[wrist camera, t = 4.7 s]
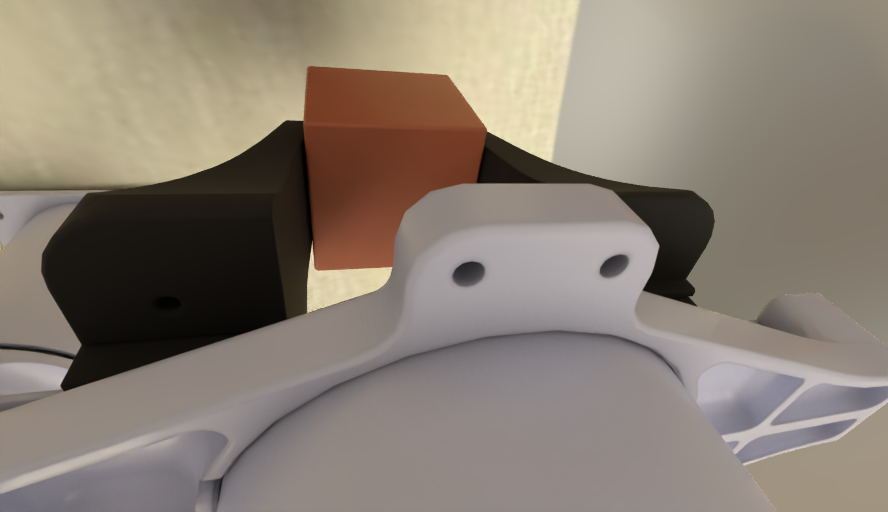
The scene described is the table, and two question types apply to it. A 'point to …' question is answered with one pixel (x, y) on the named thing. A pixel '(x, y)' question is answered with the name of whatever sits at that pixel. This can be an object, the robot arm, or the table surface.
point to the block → (380, 156)
